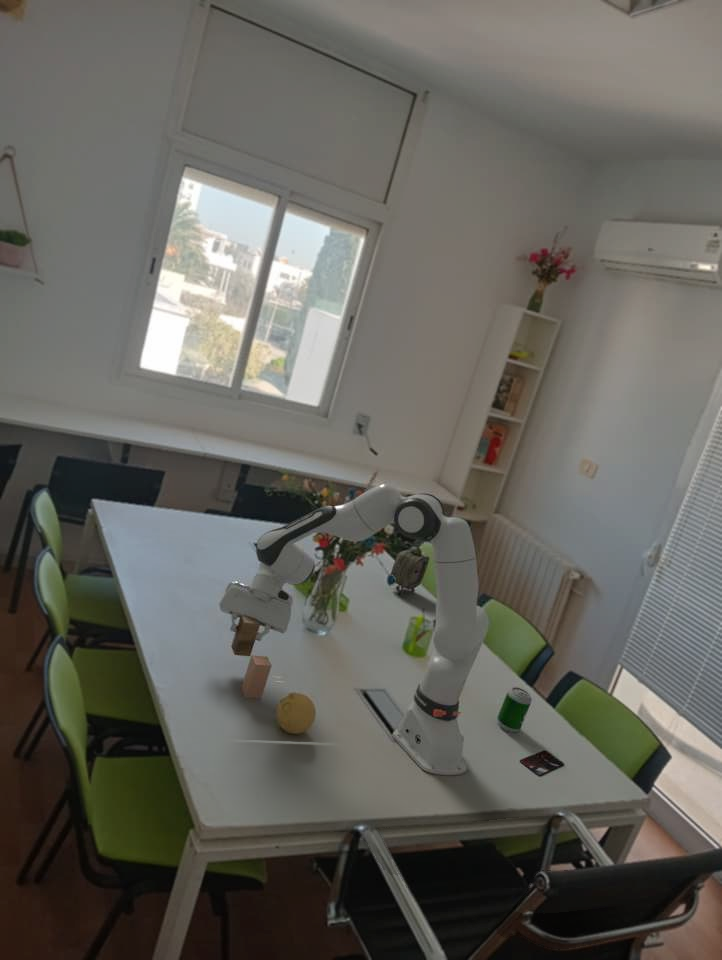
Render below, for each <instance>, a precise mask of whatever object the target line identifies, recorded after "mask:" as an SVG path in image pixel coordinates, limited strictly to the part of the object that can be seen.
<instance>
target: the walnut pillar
mask: <svg viewBox="0 0 722 960" xmlns="http://www.w3.org/2000/svg"><path fill="white" fill-rule="evenodd" d="M260 626H261V625H260V623H259V621H258V619H255V618H252V617H249V616H247V615H241V616H240V618H239V621H238V623H237V629H236V632H234V636H233V638H232V642H231V645H230V647H231V650H232V652H233V654H234V656H241V657H251V655H252V652H253V649H254V645H255V643H256V641H257V640H256V636H257V634H258V632H259V630H260Z"/></svg>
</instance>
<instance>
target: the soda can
mask: <svg viewBox="0 0 722 960" xmlns="http://www.w3.org/2000/svg"><path fill="white" fill-rule="evenodd" d="M532 701H533V700H532V697H531V694H530V693H529V692H528V691H527V690H525V689H523V688H521V687H517V686H513V687H511V688H509V689H508V690H507V693H506V695H505V697H504V699H503V703H502V705H501V708H500V709H499V713H498V715H497V718H496V721H497V722H498V723H497V724H498V725H499V727H500V728H501V729H503V730H504V731H507V732H508V733H509V732H510V733H516V732H519V731H520V730H521V728H522V725H523V723H524V721H525V718H526V716H527V714H528V711H529V709H530V705H531V703H532Z"/></svg>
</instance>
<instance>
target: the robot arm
mask: <svg viewBox="0 0 722 960" xmlns="http://www.w3.org/2000/svg"><path fill="white" fill-rule="evenodd" d="M391 524H394V525H395V527H396V529H397V531H398V532H399V533H400V534H401V535H402V536H404V537H406V538H410V539H413V540H417V539H418V541H421V542H422V541H423V542H428V543H429V542H430V543H431V548H432V551H433V552H432V554H433V563H434V565H433V566H434V573H435V583H436V604H435V626H434V627H435V629H434V634H433V644H434V650H433V653H432V654H431V656H430V658H429V660H428V663H427V665H426V668H425V670H424V673H423V676H422V679H421V681H420V683H419V684H418V686H417V688H416V690H415V691H414V695H413V701H412V703H411V704H410V705H409V707H407V709H406V711H405V713H404V715H403V717H402V719H401V721H400V722H399V725H398V727H397V728H396V729H394V731H393V732H392V738H393V739H394V740H395V741H396V742H397V743H398V744H399V745H400V747H402V749H403V750H404V751H405V752H406V753H407V754H408V755H409V757H411V759H412V760H413V761H414V762H415V763H416V764H417V765H418V767H419V768H420V769H421V770H422V771H425V772H428V773H429V774H430V773H431V774H435V775H442V776H458V775H461V774H464V773H465V772H466V771H467V765H466V763H465V761H464V758H463V756H462V755H463V750H464V740H465V737H464V735H463V734H461V731H460V727H459V723H458V717H460V716H461V715H460V714H461V713H462V712H461V711H459V708H460V697H461V694H462V692H463V689H464V687H465V684H466V682H467V679H468V677H469V674H470V672H471V670H472V668H473V666H474V663H475V661H476V659H477V657H478V654H479V652H480V650H481V648H482V645H483V643H484V641H485V639H486V636H487V633H488V630H489V621H490V620H489V617H488V614H487V612H486V611H485V609H484V608H482V607H481V606H479V605H478V595H479V578H478V577H479V576H478V567H477V565H478V564H477V556H476V550H475V549H476V548H475V544H474V539H473V535H472V531H471V528H470V526H469V524H468V521H466V520H465V519H464V518H461V517H458V516H446V515H445V509H444V505H443V503H442V502H441V500H440V499H439V498H438V497H436V496H435V495H433V494H430V493H423V492H422V493H411V494H409V493H408V494H406V495H404V496H403V494H401V492H400V491H399V490H398V489H397V488H396V487H395V486H394V485H392V484H389V483H381V484H379V485H377V486H375V487H373V488H370V489H367V490H366V491H365V492H363V493H360V495H358V496H357V497H355V498H354V499H352V500H350V501H349V502H346V503H344V504H343V503H342V504H340V505H334V506H333V505H325V506H322V507H319V508H317V509H316V510H313V511H311V512H309V513H307V514H305V515H303V516H301V517H299V518H297V519H295V520H294V521H291V522H289V523H288V524H286V525H283V526H281V527H277V528H274V529H272V530H269V531H267V532H265V533H264V534H262V535H261V536H260V537H259V539H258V541H257V543H256V546H255V554H256V559H257V560H258V562H259V564H258V565H259V567H258V570H257V572H256V573H255V574H254V576H253V579H252V581H251V582H250V585H247V584H243V583H241V582H238V581H234V582H229V583H228V584H227V585H226V588H225V593H224V595H223V596H222V598H221V600H220V602H219V609H220V611H221V612H222V613H225V614H228V615H230V616H231V625H230V629H229V631H231V632H234V633H236V629H237V626H238V623H237V624H236V623H235V622H236V621H237V619H238V618H239V619H240V616H241V615H247V616H249V617H252V618H255V619H258V621H259V623H260V626H262V627H264V630H263V631H261V632H260V631H258V633H257V636H256V640H255V641H258V642H262V640H263V637H264V636H266V635H267V634H268V633H270V631H275V632H278V633H280V634H284V633H287V631H288V628H289V625H290V622H291V617H292V607H293V602H294V599H293V596H292V595H291V594H289V593H288V592H286V591H285V590H284V589H283V587H284V585H285V584H288V585H291V586H293V585H294V586H298V585H304V584H306V583H308V581H310V580H311V578H312V576H313V575H314V574H313V573H314V571H315V568H316V563H315V559H314V558H313V557H312V556H311V555H310V554H309V553H308V552H306V551H305V550H304V549H303V548H301V547H300V546H299V545H298V544H297V543H298V542H299V541H301V540H303V539H305V538H307V537H310V536H312V535H313V534H317V533H322V534H329V535H333V536H335V537H339V538H341V539H343V540H346V541H349V542H354V543H355V542H356V543H357V542H362V541H366V540H367V539H370V538H371V537H372V536H374V535H375V534H377V533H379V532H380V531H381V530H382V529H384V528H386V527H387V526H389V525H391Z"/></svg>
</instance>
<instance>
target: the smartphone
mask: <svg viewBox="0 0 722 960" xmlns="http://www.w3.org/2000/svg"><path fill="white" fill-rule="evenodd" d="M519 764H521V765H523V766H524V767H525V768H526V769H528V771H531V773H533V774H535V775H536V776H537V777H542V776H544V775H546V774H548V773H551V772H553V771H555V770H558V769H559V768H562V767H564V766H565V763H564V762H563V761H562V760H560V759H559V758H557V757H556V756H555V755H554V754H552V753H550V752H549V751H548V750H545V749H543V750H541V751H538V752H537V753H534V754H532V755H528V756H525V757H524V758H521V759H519Z"/></svg>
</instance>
